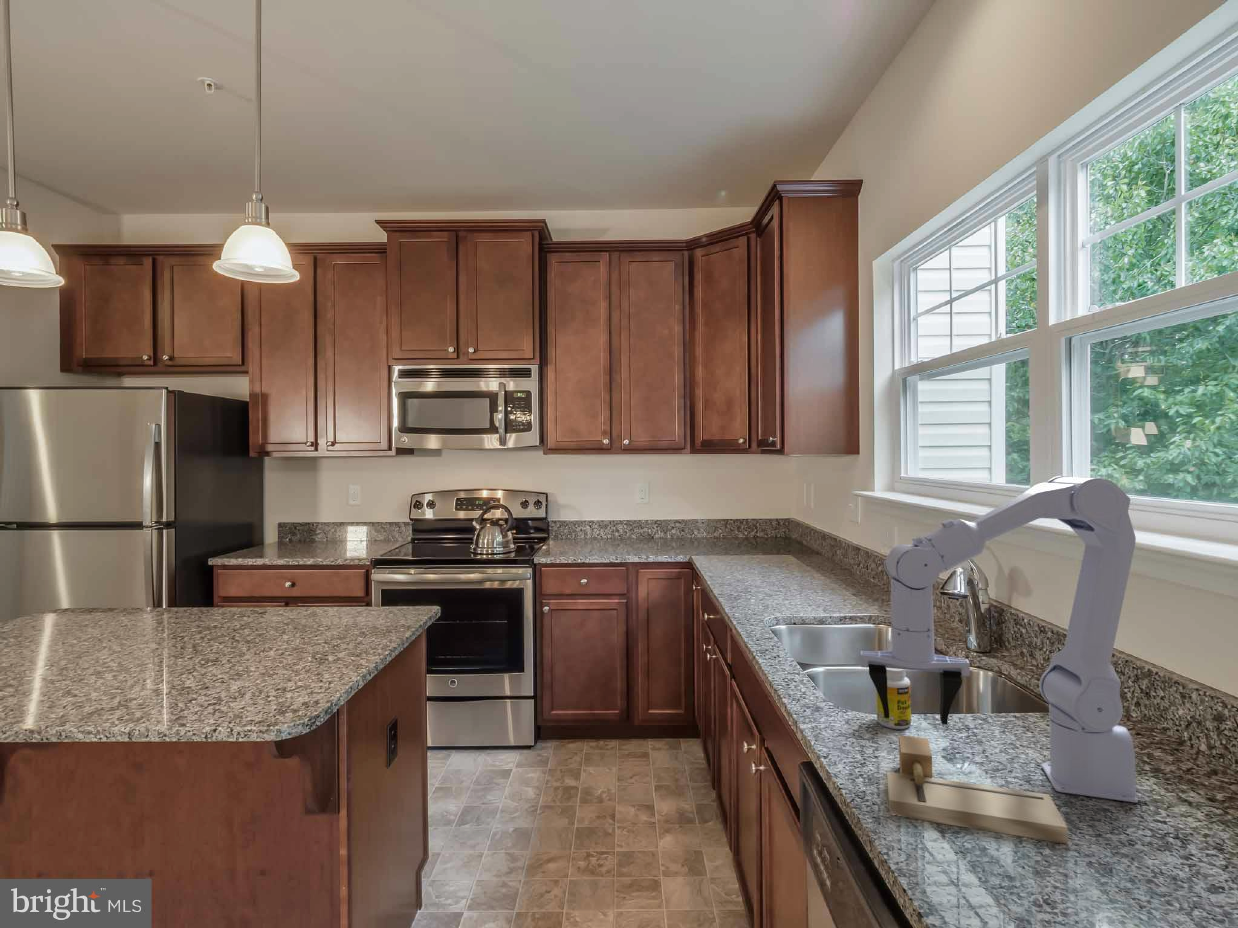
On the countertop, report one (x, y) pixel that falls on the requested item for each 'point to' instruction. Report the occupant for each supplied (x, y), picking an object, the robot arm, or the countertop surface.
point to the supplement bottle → (896, 700)
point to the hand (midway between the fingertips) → (914, 718)
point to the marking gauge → (915, 758)
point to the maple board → (976, 807)
